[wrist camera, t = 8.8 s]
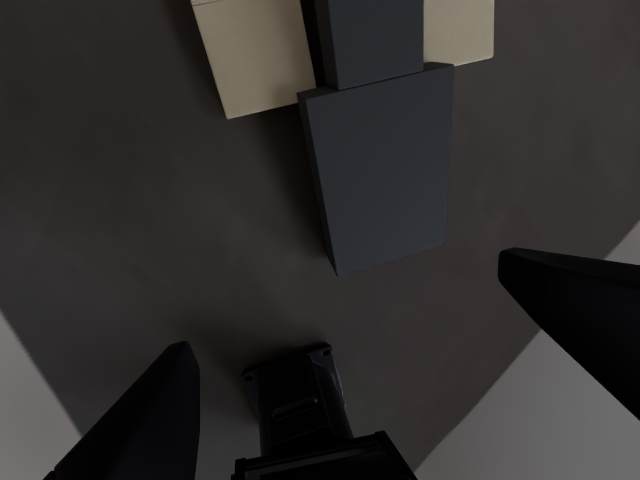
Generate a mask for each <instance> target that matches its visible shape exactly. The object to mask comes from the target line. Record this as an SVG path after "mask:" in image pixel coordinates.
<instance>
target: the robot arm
mask: <svg viewBox="0 0 640 480" xmlns="http://www.w3.org/2000/svg"><path fill="white" fill-rule="evenodd" d="M498 279H499V281H500V283H501V284H502V285H503V287H504V288H505V289H506V290H507V291H508V292H509V293H510V295H511V296H512V297H513V298H514V299H515V300H516V301H517V302H518V304H519V305H520V306H521V307H522V308H523V309H524V310H525V312H526V313H527V314H528V315H529V316H530V317H531V318H532V319H533V320H534V321H535V323H536V324H537V325H539V326H540V327H541V328H542V329H543V330H544V331H545V332H546V333H547V334H548V335H549V336H550V337H551V338H552V339H553V340H554V341H555V342H556V343H558V344H559V345H560V346H561V347H562V348H563V349H564V350H565V351H566V352H567V353H568V354H569V355H570V356H571V357H572V358H574V360H576V361H577V362H578V363H579V364H580V365H581V366H582V367H583V368H584V369H585V370H586V371H587V372H588V373H589V374H590V375H592V376H593V377H594V378H595V379H596V380H597V381H598V382H599V383H600V384H601V385H602V386H603V387H604V388H605V389H606V390H607V391H609V392H610V393H611V394H612V395H613V396H614V397H615V398H616V399H617V400H618V401H619V402H620V403H621V404H622V405H623V406H624V407H625V408H627V409H628V410H629V411H630V412H631V413H632V414H633V415H634V416H635V417H636V418H637V419H638V420H640V265H634V264H627V263H621V262H614V261H606V260H600V259H593V258H586V257H579V256H572V255H565V254H558V253H551V252H544V251H537V250H530V249H523V248H516V247H514V248H509V249H506V250H503V251H501V252H500V254H499V259H498ZM324 350H327V351H326V352H323V351H324ZM248 375H251V376H250V377H248ZM242 382H243V384H244V386H245V389H246V391H247V393H248V396H249V398H250V400H251V403H252V405H253V407H254V410H255V412H256V414H257V417H258V419H259V432H260V449H261V457H256V458H251V459H246V458H241V459H236V460H235V474H233V475H231V480H418V479H417V478H416V476H415V475H414V473H413V472H412V471H411V469H410V468H409V466H408V465H407V463H406V462H405V460H404V459H403V457H402V456H401V454H400V453H399V451H398V450H397V448H396V447H395V445H394V444H393V443H392V441H391V440H390V438H389V437H388V435H387V434H386V432H385V431H384V430H383V431H378V432H375V434H372V435H367V436H362V437H357V438H354V437H353V434H352V431H351V428H350V425H349V422H348V419H347V416H346V413H345V410H344V407H345V406H346V403H345V399H344V395H343V391H342V387H341V383H340V379H339V375H338V371H337V367H336V363H335V359H334V355H333V351H332V348H331V346H330V345H329V344H327V343H325V344H321V345H318V346H315V347H312V348H308V349H305V350H302V351H299V352H296V353H293V354H290V355H287V356H284V357H281V358H278V359H275V360H272V361H269V362H266V363H262V364H259V365H256V366H253V367H250V368H247V369H245V370H244V371H243V372H242ZM199 434H200V370H199V365H198V362H197V360H196V358H195V356H194V353H193V351H192V349H191V346H190V344H189V343H188V342H187V341H181V342H178V343H174V344H171V345H169V346H168V347H167V348H166V349H165V350H164V352H163V353H162V354H161V355H160V356H159V357H158V358H157V359H156V360H155V361H154V362H153V363H152V364H151V365H150V366H149V367H148V368H147V370H146V371H145V372H144V373H143V374H142V375H141V376H140V377H139V378H138V379H137V380H136V381H135V382H134V383H133V384H132V385H131V387H130V388H129V389H128V390H127V391H126V392H125V393H124V394H123V395H122V396H121V397H120V398H119V399H118V400H117V401H116V402H115V404H114V405H113V406H112V407H111V408H110V409H109V410H108V411H107V412H106V413H105V414H104V415H103V416H102V417H101V418H100V419H99V420H98V422H97V423H96V424H95V425H94V426H93V427H92V428H91V429H90V430H89V431H88V432H87V433H86V434H85V435H84V436H83V437H82V439H81V440H80V441H79V442H78V443H77V444H76V445H75V446H74V447H73V448H72V449H71V450H70V451H69V452H68V453H67V454H66V456H65V457H64V458H63V459H62V460H61V461H60V462H59V463H58V464H57V465H56V466H55V468H54V471H51V472H49V473H48V474H47V476H46V477H45V478H44V479H43V480H195V471H196V462H197V453H198V444H199Z"/></svg>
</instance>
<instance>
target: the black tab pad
mask: <svg viewBox="0 0 640 480" xmlns="http://www.w3.org/2000/svg"><path fill="white" fill-rule="evenodd" d="M314 2H315V9H316V16H317V23H318V30H319V37H320V43H321V50H322V57H323V64H324V71H325V78H326V84H327V86H322V87H318V88H314V89H309V90H305V91H301V92H297V93H296V95H297V100H298V105H299V110H300V115H301V120H302V126H303V131H304V136H305V141H306V146H307V151H308V156H309V162H310V167H311V172H312V177H313V182H314V187H315V192H316V197H317V203H318V208H319V213H320V218H321V223H322V228H323V233H324V239H325V244H326V249H327V254H328V259H329V261H330V263H331V265H332V267H333V269H334V271H335V273H336V275H337V277H339V276H342V275H345V274H349V273H352V272H355V271H359V270H362V269H365V268H368V267H372V266H375V265H378V264H382V263H385V262H388V261H391V260H395V259H398V258H401V257H405V256H408V255H411V254H415V253H418V252H421V251H424V250H428V249H431V248H434V247H438V246H441V245H444V244H445V231H446V213H447V194H448V175H449V157H450V138H451V119H452V101H453V82H454V64H449V63H440V62H432V61H431V62H426V63H423V59H424V0H314Z"/></svg>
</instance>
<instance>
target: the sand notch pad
mask: <svg viewBox="0 0 640 480" xmlns="http://www.w3.org/2000/svg"><path fill="white" fill-rule="evenodd" d="M190 1H191V4H192V6H193V7H192V8H193V11H194V14H195V18H196V21H197V24H198V27H199V30H200V34H201V37H202V40H203V43H204V47H205V50H206V53H207V56H208V60H209V63H210V66H211V69H212V73H213V76H214V79H215V82H216V86H217V89H218V92H219V95H220V99H221V102H222V105H223V108H224V112H225V115H226V118H227V119H231V118H235V117H239V116H243V115H248V114H252V113H256V112H261V111H265V110H269V109H273V108H278V107H282V106H286V105H291V104H295V103H298V100H297V95H296V93H297V92H301V91H305V90H309V89H314V88H316V82H315V77H314V72H313V67H312V61H311V56H310V51H309V46H308V41H307V35H306V30H305V25H304V20H303V14H302V9H301V4H300V0H190ZM493 38H494V0H424V59H423V63H426V62H431V61H432V62H440V63H449V64H454V66H458V65H462V64H467V63H471V62H475V61H480V60H484V59H488V58H492V57H493Z"/></svg>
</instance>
